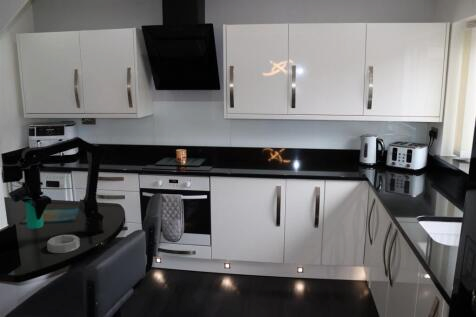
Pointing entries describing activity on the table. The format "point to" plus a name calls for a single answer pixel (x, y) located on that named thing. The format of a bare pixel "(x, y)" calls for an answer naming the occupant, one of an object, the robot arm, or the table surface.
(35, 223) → the candle
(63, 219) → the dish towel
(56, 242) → the candle dish
